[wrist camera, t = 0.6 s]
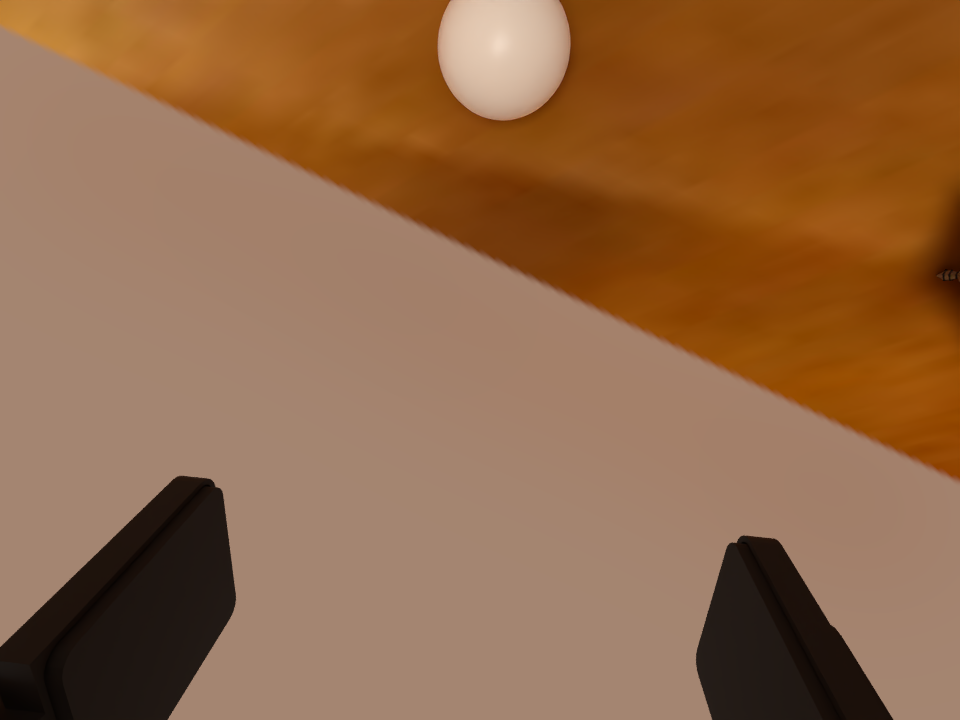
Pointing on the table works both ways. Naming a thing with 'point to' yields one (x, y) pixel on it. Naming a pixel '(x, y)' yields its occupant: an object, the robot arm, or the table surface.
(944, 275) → the game die
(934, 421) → the table surface
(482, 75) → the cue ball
